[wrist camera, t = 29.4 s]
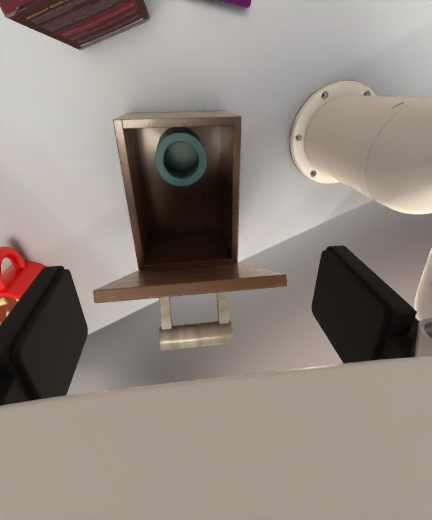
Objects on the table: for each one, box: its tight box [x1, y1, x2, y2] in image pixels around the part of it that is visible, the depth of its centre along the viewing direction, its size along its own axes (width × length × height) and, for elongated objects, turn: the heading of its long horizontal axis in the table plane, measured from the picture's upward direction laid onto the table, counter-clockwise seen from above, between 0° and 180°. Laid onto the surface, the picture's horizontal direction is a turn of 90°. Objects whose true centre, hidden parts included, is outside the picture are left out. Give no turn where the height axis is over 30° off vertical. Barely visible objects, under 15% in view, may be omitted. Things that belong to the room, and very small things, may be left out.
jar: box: [155, 127, 207, 187], centre depth 35 cm, size 6×6×7 cm
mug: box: [0, 247, 46, 325], centre depth 41 cm, size 8×12×8 cm, turn 6°
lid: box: [93, 263, 287, 350], centre depth 27 cm, size 17×12×5 cm
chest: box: [113, 111, 241, 270], centre depth 36 cm, size 17×12×10 cm
